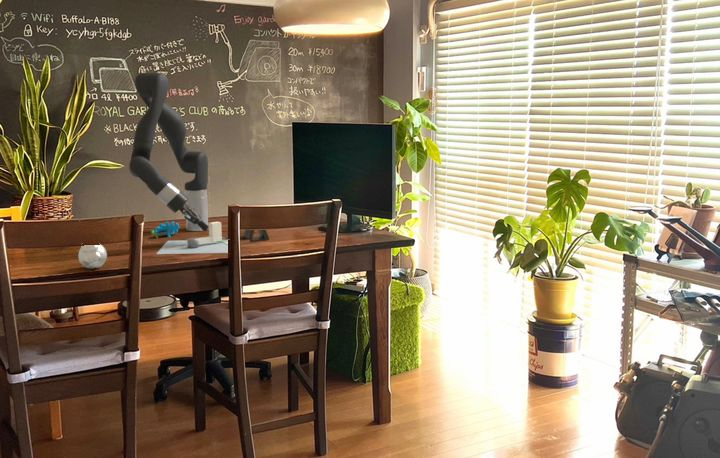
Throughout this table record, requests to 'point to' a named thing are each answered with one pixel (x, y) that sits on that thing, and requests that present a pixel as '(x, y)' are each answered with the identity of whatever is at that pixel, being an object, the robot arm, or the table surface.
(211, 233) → the white l-shaped block
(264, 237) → the door stopper
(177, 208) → the robot arm
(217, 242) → the board
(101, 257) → the grey round ball
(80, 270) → the table surface
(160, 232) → the blue toy animal
